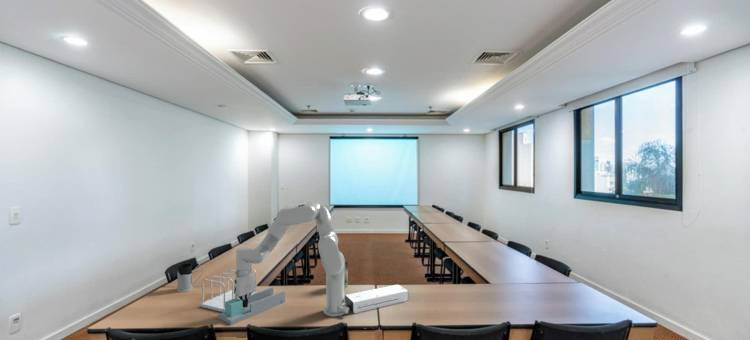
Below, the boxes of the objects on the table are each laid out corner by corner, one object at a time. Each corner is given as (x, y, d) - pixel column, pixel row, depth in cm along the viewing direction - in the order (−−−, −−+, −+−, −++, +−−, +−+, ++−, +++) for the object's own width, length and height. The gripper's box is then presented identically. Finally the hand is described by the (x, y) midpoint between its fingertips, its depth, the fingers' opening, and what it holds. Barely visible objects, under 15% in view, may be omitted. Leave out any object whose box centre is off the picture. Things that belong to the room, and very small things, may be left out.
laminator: (353, 314, 169) (352, 302, 169) (344, 305, 180) (344, 294, 180) (408, 301, 185) (408, 290, 185) (397, 293, 196) (397, 283, 196)
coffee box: (338, 291, 198) (338, 265, 198) (330, 289, 202) (330, 263, 202) (348, 287, 206) (348, 261, 205) (340, 284, 210) (340, 259, 209)
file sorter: (224, 313, 171) (223, 283, 171) (200, 307, 178) (199, 279, 177) (258, 295, 194) (257, 268, 194) (235, 290, 201) (235, 265, 201)
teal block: (242, 312, 167) (242, 300, 167) (231, 316, 162) (231, 304, 162) (236, 309, 171) (236, 297, 170) (225, 313, 166) (224, 301, 166)
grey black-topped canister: (177, 288, 205) (176, 264, 204) (203, 284, 211) (202, 261, 211) (176, 293, 197) (176, 268, 196) (203, 289, 204) (202, 265, 203)
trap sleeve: (285, 302, 184) (284, 291, 184) (231, 325, 158) (230, 312, 158) (271, 296, 191) (271, 286, 191) (218, 318, 165) (217, 306, 165)
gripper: (234, 277, 162) (235, 313, 162) (261, 269, 174) (261, 303, 174) (226, 274, 166) (227, 309, 167) (252, 266, 178) (253, 300, 179)
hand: (244, 306), depth 171 cm, fingers closed
